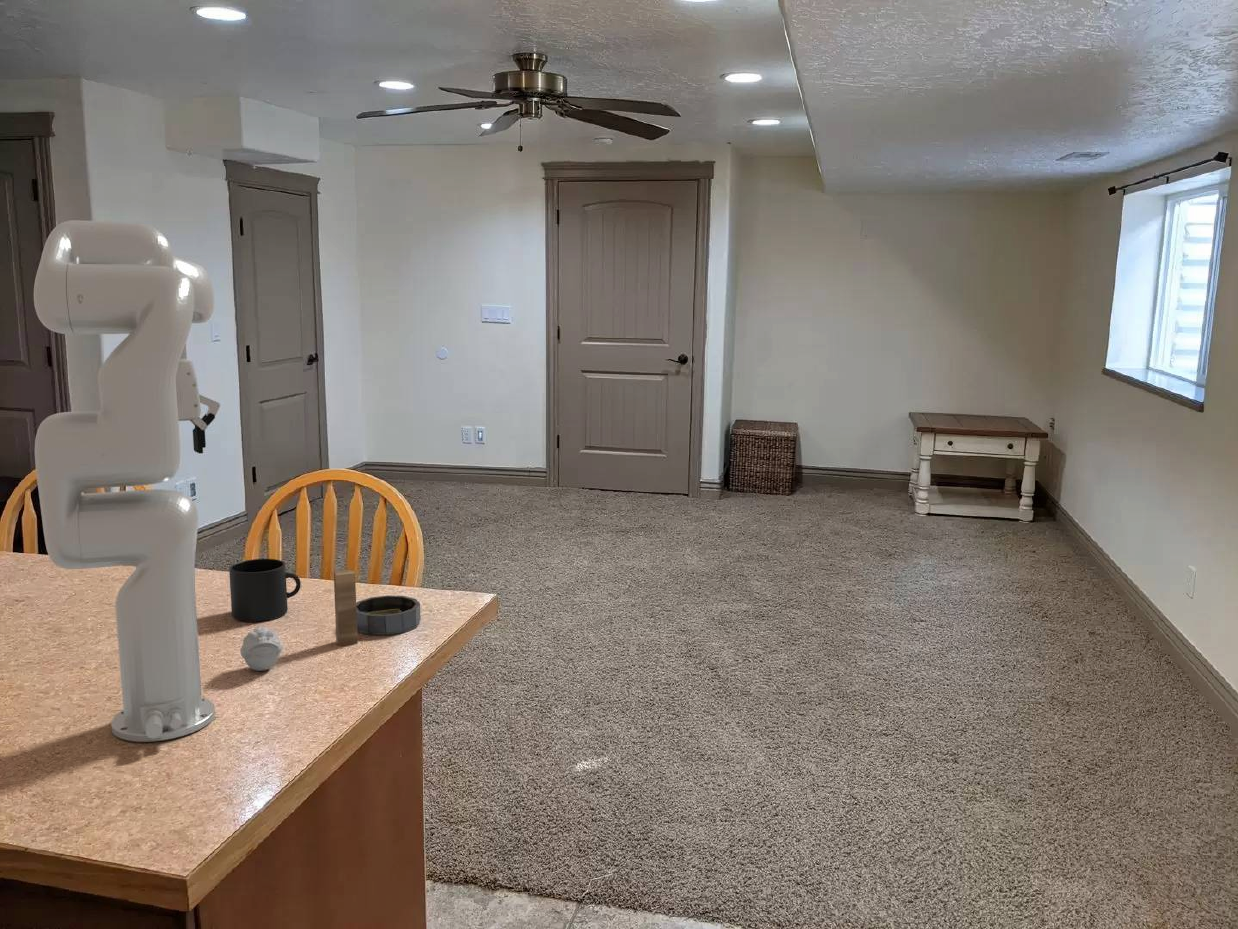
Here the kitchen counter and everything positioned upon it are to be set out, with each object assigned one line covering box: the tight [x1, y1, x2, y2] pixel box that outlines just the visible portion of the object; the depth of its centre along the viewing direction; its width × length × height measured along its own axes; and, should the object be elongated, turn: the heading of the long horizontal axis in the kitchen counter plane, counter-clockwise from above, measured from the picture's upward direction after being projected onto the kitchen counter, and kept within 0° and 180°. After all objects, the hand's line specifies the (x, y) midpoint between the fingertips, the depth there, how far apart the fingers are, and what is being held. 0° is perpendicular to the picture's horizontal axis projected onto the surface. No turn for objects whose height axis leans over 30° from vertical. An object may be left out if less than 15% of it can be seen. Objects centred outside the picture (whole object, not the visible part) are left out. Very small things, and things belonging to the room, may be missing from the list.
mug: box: [228, 558, 302, 623], centre depth 174 cm, size 9×12×9 cm
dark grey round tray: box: [356, 594, 421, 637], centre depth 170 cm, size 11×11×4 cm
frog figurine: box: [239, 626, 284, 672], centre depth 148 cm, size 6×7×7 cm
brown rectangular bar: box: [333, 569, 358, 647], centre depth 160 cm, size 2×3×12 cm
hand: (168, 454), depth 164 cm, fingers open, 9 cm apart
